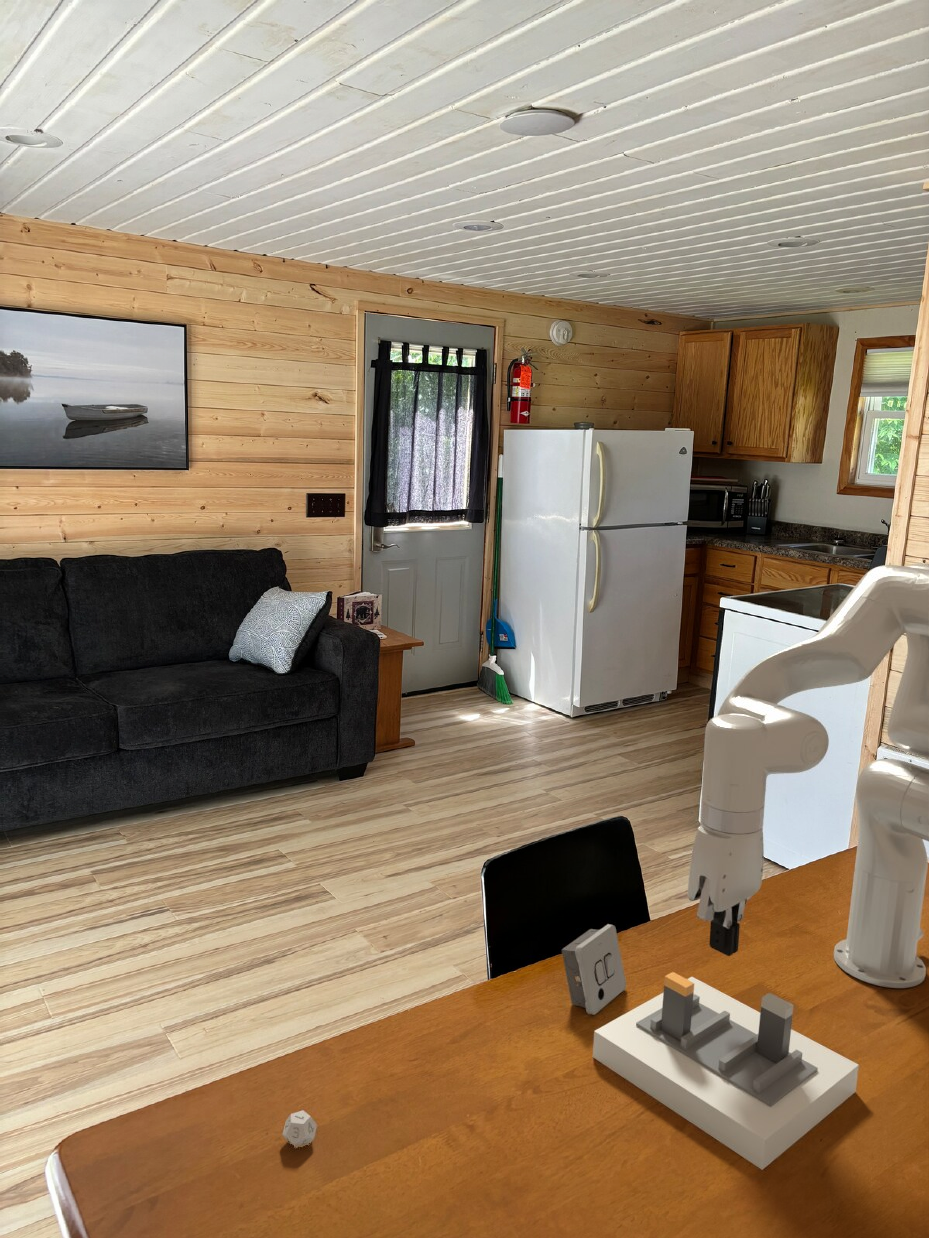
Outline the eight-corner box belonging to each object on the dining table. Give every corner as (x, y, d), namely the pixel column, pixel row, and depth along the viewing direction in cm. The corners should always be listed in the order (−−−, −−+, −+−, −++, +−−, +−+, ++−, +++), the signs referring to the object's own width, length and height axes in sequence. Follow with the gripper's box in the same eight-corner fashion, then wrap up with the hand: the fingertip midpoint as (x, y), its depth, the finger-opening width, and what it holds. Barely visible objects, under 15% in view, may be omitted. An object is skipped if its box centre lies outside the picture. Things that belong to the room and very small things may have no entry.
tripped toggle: (668, 1024, 120) (672, 971, 119) (689, 1036, 118) (694, 983, 116) (660, 1029, 119) (664, 975, 118) (681, 1041, 117) (686, 987, 115)
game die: (295, 1125, 106) (295, 1101, 106) (323, 1137, 105) (323, 1112, 104) (275, 1146, 103) (275, 1121, 103) (304, 1158, 102) (304, 1133, 101)
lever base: (689, 1000, 133) (696, 924, 131) (855, 1091, 115) (865, 1005, 113) (592, 1056, 120) (597, 973, 118) (762, 1169, 102) (772, 1074, 100)
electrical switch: (592, 1018, 128) (590, 952, 127) (559, 1007, 131) (557, 942, 130) (627, 989, 135) (626, 926, 134) (595, 979, 138) (594, 917, 137)
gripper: (740, 791, 126) (732, 918, 130) (669, 821, 117) (663, 958, 120) (792, 808, 121) (781, 941, 124) (722, 841, 111) (713, 984, 115)
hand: (723, 949), depth 122 cm, fingers closed
